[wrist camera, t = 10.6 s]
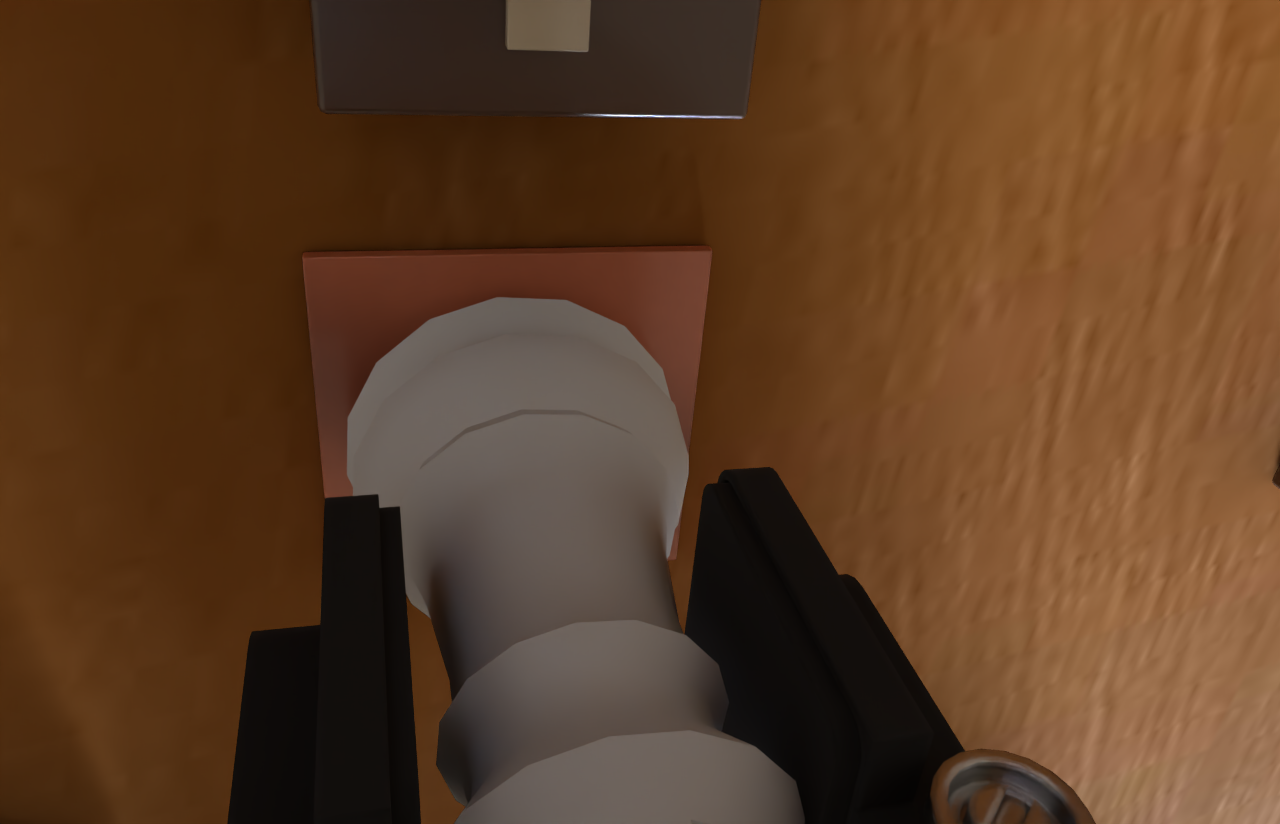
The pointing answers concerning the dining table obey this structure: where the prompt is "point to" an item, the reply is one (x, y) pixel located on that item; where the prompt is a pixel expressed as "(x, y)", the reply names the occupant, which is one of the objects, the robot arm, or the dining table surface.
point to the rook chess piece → (554, 571)
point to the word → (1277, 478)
